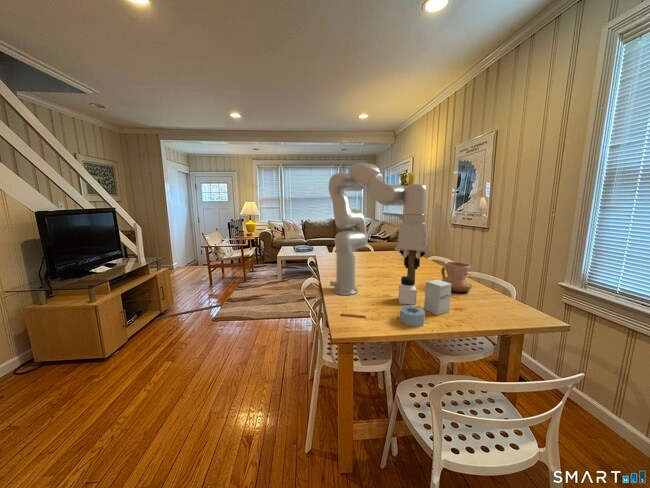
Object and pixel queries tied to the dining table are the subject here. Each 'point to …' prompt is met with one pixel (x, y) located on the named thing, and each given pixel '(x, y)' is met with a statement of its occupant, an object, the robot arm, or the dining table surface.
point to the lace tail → (353, 315)
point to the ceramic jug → (457, 275)
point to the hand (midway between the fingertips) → (411, 267)
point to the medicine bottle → (407, 291)
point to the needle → (411, 264)
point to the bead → (412, 316)
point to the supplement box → (437, 297)
